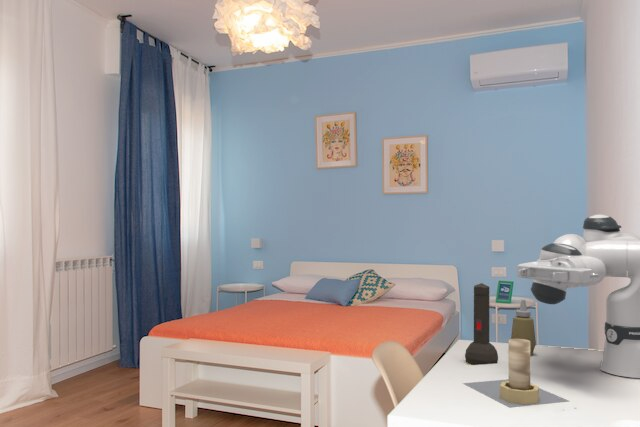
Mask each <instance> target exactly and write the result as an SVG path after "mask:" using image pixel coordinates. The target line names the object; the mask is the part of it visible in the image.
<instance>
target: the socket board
mask: <svg viewBox="0 0 640 427" xmlns="http://www.w3.org/2000/svg"><path fill="white" fill-rule="evenodd" d="M462 384H463V385H465V386H467V387H468V388H470V389H473V390H475V391H476V392H478V393H480V394H483V395H484V396H486V397H488V398H490V399H492V400H493V401H495V402H497V403H500V404H502V405H504V406H505V407H507V408H517V407H518V408H520V407H528V406H539V405H546V404H547V405H548V404H556V403H566V402H569V399H566V398H564V397H562V396H560V395H559V396H558V395H557V394H554V393H551V392H550V391H548V390H545V389H543V388H540V386H538V385H536V384H533V383H532V382H530V390H517V389H511V388H509V378H507V379H497V380H495V379H494V380H486V381H475V382H465V383H464V382H463V383H462Z"/></svg>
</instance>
